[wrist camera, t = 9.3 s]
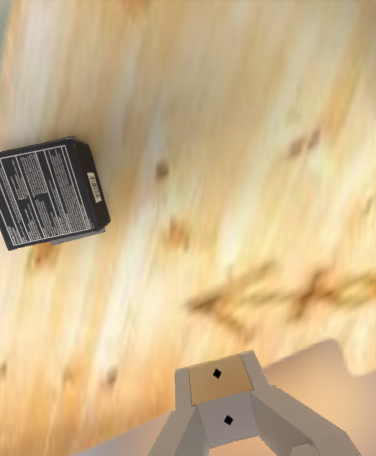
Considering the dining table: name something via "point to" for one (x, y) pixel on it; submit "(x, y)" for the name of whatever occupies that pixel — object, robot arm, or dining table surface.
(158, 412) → the dining table surface
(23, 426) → the dining table surface
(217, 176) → the dining table surface
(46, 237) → the small box
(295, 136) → the dining table surface
